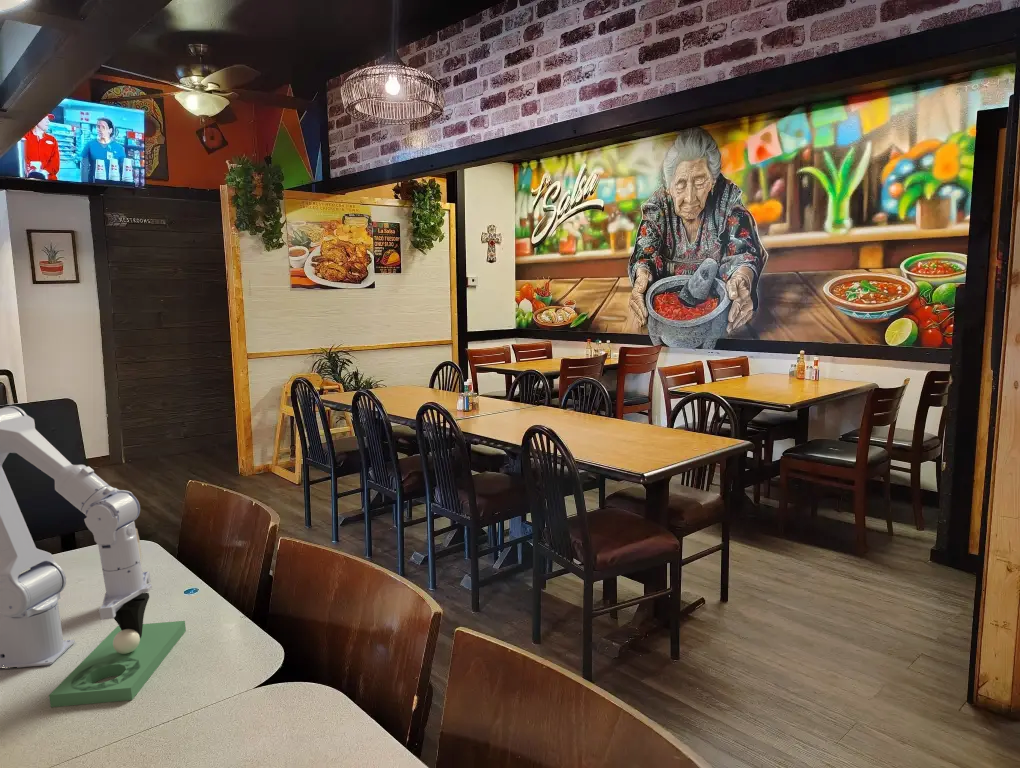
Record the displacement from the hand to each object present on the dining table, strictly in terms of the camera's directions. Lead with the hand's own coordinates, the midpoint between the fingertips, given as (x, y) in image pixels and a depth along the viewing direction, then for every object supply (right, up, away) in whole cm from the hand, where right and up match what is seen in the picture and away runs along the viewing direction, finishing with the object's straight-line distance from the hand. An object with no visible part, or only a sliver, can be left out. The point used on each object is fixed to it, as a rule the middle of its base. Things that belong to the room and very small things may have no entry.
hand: (133, 639), depth 118 cm
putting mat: (-1, -4, -2) cm, 4 cm away
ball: (0, 0, -2) cm, 2 cm away
